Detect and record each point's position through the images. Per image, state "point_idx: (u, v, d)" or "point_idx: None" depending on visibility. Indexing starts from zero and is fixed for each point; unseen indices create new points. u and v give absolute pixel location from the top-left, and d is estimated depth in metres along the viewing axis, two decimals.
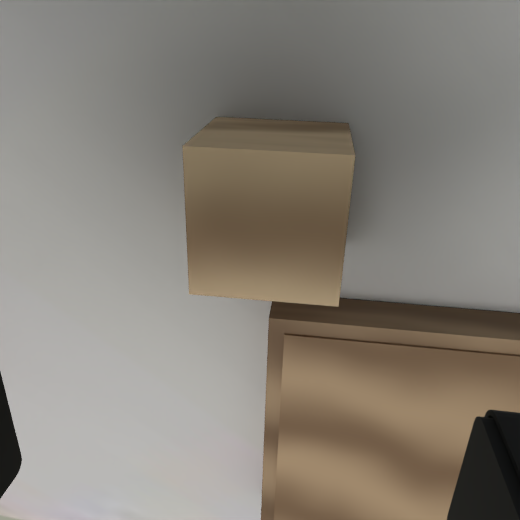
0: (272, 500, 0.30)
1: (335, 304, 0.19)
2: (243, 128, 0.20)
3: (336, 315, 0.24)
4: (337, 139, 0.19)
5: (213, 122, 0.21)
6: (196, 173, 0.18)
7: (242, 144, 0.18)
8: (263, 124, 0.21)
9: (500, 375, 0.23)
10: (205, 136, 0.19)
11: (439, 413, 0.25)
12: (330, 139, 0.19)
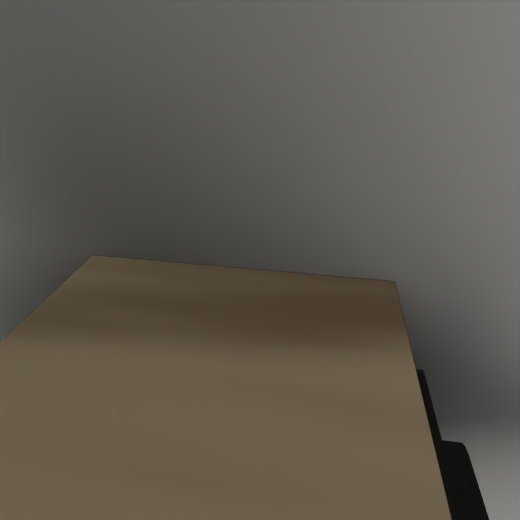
0: None
1: None
2: (122, 328, 0.08)
3: None
4: (381, 414, 0.06)
5: (64, 290, 0.09)
6: None
7: (52, 486, 0.05)
8: (186, 298, 0.08)
9: None
10: None
11: None
12: (359, 414, 0.06)
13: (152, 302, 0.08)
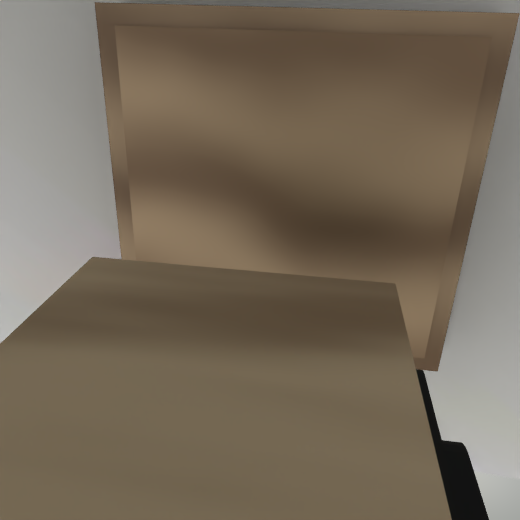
0: None
1: None
2: (122, 331, 0.08)
3: None
4: (382, 418, 0.06)
5: (63, 292, 0.09)
6: None
7: (51, 490, 0.05)
8: (186, 300, 0.08)
9: (378, 67, 0.19)
10: None
11: (312, 136, 0.20)
12: (360, 418, 0.06)
13: (152, 304, 0.08)
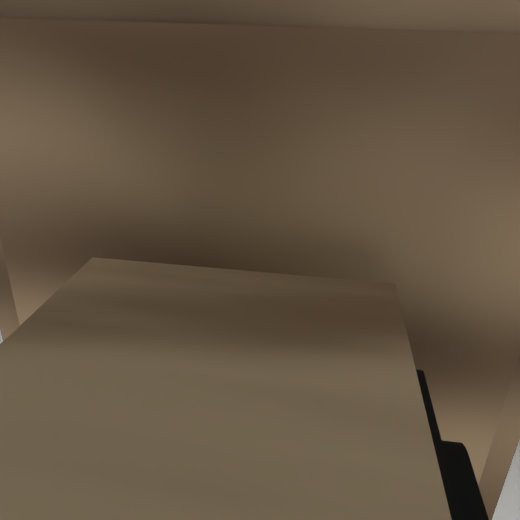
0: None
1: None
2: (122, 331, 0.08)
3: None
4: (382, 419, 0.06)
5: (63, 292, 0.09)
6: None
7: (51, 491, 0.05)
8: (186, 301, 0.08)
9: (408, 90, 0.11)
10: None
11: (293, 203, 0.12)
12: (360, 418, 0.06)
13: (152, 305, 0.08)
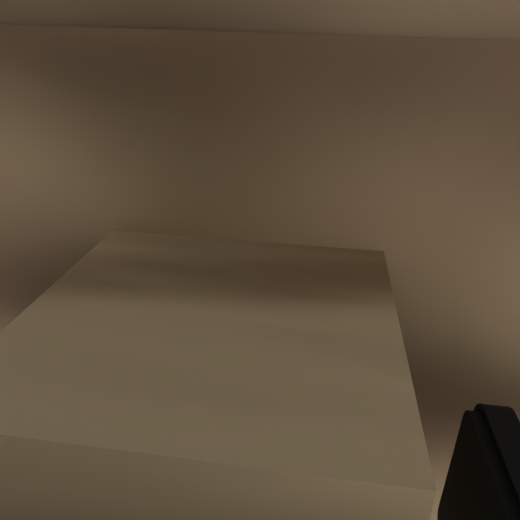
0: None
1: None
2: (144, 287, 0.09)
3: None
4: (367, 350, 0.07)
5: (89, 257, 0.10)
6: None
7: (95, 399, 0.06)
8: (198, 264, 0.10)
9: (426, 108, 0.09)
10: (22, 339, 0.07)
11: (291, 235, 0.10)
12: (349, 350, 0.07)
13: (168, 267, 0.09)
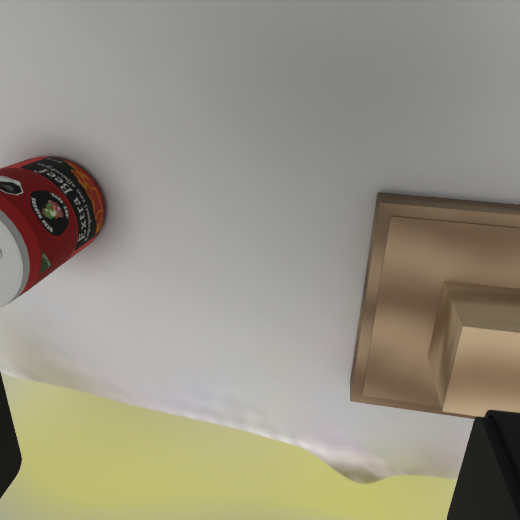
0: (363, 370, 0.37)
1: None
2: (477, 300, 0.30)
3: (430, 204, 0.32)
4: None
5: (450, 290, 0.31)
6: (467, 341, 0.28)
7: (496, 324, 0.28)
8: (485, 293, 0.31)
9: None
10: (463, 312, 0.29)
11: (507, 285, 0.32)
12: None
13: (477, 294, 0.31)
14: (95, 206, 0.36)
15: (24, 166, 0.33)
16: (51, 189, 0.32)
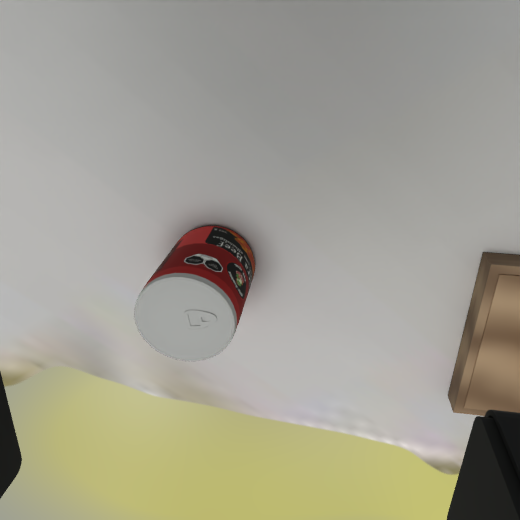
0: (466, 388, 0.46)
1: None
2: None
3: None
4: None
5: None
6: None
7: None
8: None
9: None
10: None
11: None
12: None
13: None
14: (252, 266, 0.44)
15: (207, 241, 0.41)
16: (233, 260, 0.41)
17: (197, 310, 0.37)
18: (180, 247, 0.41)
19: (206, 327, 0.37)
